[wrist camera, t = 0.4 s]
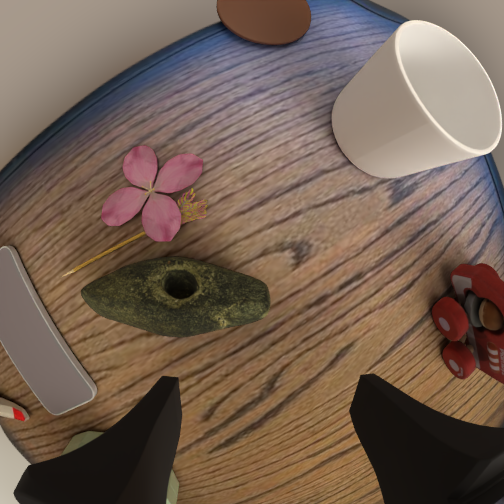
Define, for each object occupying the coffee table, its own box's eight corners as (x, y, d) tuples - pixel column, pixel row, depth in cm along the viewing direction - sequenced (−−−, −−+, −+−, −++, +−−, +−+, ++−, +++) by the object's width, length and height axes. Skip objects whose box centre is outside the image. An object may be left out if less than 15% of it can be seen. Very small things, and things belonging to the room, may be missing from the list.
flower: (123, 272, 18) (116, 269, 17) (94, 178, 19) (88, 174, 19) (230, 213, 18) (228, 208, 17) (184, 125, 20) (180, 118, 19)
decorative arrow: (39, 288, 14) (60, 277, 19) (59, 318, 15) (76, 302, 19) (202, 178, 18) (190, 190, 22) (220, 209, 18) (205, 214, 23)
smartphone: (52, 417, 19) (-28, 282, 17) (56, 413, 20) (-23, 281, 18) (99, 396, 19) (7, 240, 17) (102, 391, 20) (13, 240, 18)
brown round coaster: (222, -30, 15) (219, -21, 17) (212, 36, 17) (210, 44, 19) (310, -14, 17) (304, -6, 19) (311, 52, 19) (304, 58, 20)
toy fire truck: (465, 243, 22) (551, 251, 11) (486, 340, 23) (550, 369, 13) (418, 284, 22) (510, 312, 11) (446, 380, 23) (509, 424, 13)
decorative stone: (216, 204, 20) (212, 196, 15) (274, 298, 20) (288, 318, 15) (93, 287, 19) (59, 302, 14) (149, 370, 20) (132, 404, 15)
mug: (420, 81, 20) (488, 36, 10) (452, 162, 21) (535, 141, 11) (312, 93, 20) (366, 13, 9) (350, 191, 20) (440, 166, 10)
